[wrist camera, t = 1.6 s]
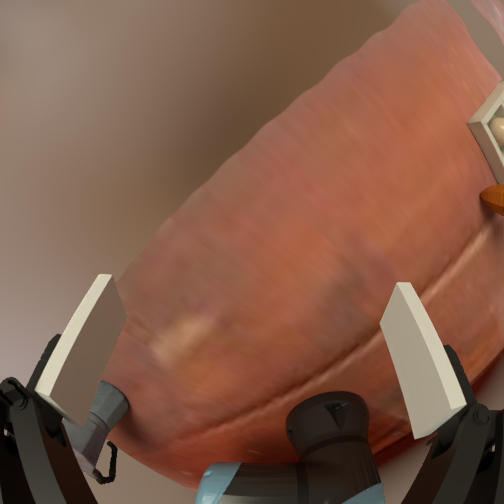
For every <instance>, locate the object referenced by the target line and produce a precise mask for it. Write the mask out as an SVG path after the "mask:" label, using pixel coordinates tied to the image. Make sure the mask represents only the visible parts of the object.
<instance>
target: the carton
mask: <svg viewBox="0 0 504 504" xmlns="http://www.w3.org/2000/svg"><path fill="white" fill-rule="evenodd" d="M496 117H501V118H504V80H501V81H500V82H499V83H498V85H497V86H496V87H495V88H494V90H493V91H492V92H491V94H490V95H489V96H488V97H487V99H486V100H485V101H484V103H483V104H482V105H481V106H480V107H479V109H478V110H477V111H476V112H475V114H474V115H473V116H472V117H471V118H470V120H469V121H468V122H467V125H468V127H469V128H470V130H471V132H472V133H473V135H474V137H475V139H476V140H477V142H478V144H479V146H480V148H481V150H482V152H483V154H484V155H485V157H486V159H487V161H488V164H489V166H490V168H491V170H492V172H493V174H494V176H495V179H496V181H497V183H498V185H502V184H504V146H499V145H498V144H497V142H496V140H495V138H494V137H493V135H492V133H491V131H490V129H489V124H490V122H491V120H492V119H494V118H496Z"/></svg>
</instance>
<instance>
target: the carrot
mask: <svg viewBox="0 0 504 504" xmlns="http://www.w3.org/2000/svg"><path fill="white" fill-rule="evenodd" d="M480 197H481V199H482V200H483V201H484V203H485V204H486V205H487V206H488V207H489V208H491V209H492V210H494V211H495V212H497V213H499V214H500V215H502V216H504V184H502V185H494V186H490V187H488V188H486V189H485V190H483V191H482V192H481V193H480Z"/></svg>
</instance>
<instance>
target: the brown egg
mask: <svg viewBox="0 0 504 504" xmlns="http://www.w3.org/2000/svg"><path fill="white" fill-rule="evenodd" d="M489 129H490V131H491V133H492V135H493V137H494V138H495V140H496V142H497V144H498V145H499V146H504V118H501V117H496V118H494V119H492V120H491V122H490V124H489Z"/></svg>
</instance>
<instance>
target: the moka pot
mask: <svg viewBox="0 0 504 504" xmlns="http://www.w3.org/2000/svg"><path fill="white" fill-rule="evenodd" d="M127 410H128V403H127V400H126V399H125V397H124V395H123V394H122V393H121V392H120V391H119V390H118V389H117V388H115V387H114V386H112V385H111V384H108V383H106V382H104V381H100V384H99V386H98V389H97V392H96V395H95V397H94V400H93V403H92V406H91V409H90V412H89V415H88V418H87V421H86V424H85V427H84V428H82V427H79V426H77V425H74V424H71V423H69V422H68V421H67V420H66V419H64V420H63V421H62V423H63V424H64V426H65V429H66V432H67V435H68V438H69V441H70V443H71V446H72V449H73V451H74V454H75V456H76V459H77V461H78V463H79V466H80V468H81V470H82V471H84V472H86V473H87V474H88V475H89V476H91V477H92V478H94V479H96V481H97V482H98V483H99V484H105V483H110V482H113V481H114V479H115V476H116V475H115V473H116V458H117V450H118V449H117V447H116V446H115V445H114V444H113V443H112V442H111V441H109V442H107V445H108V446H110V447H111V449H112V457H111V461H110V469H109V476H108V477H103V476H102V474H101V473H100V471H98V470H97V469H96V468H95V466H96V463H97V460H98V457H99V455H100V452H101V450H102V447H103V444H104V442H105V440H106V437H107V435H108V433H109V432H110V431H111V430H112V429H113V427H114V426H115V425H116V424H117V423H118V421H119V420H120V419H121V418H122V417H123V415H124V414H125V413H126V412H127Z"/></svg>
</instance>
